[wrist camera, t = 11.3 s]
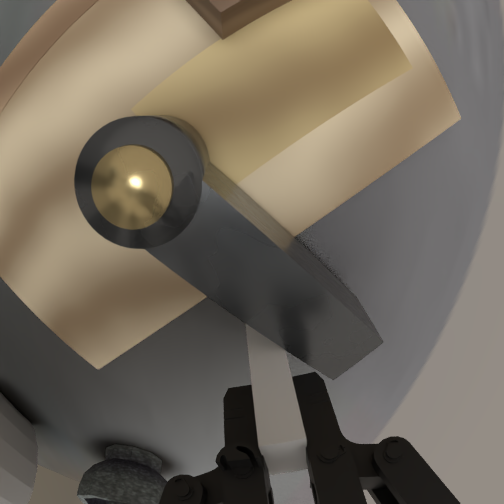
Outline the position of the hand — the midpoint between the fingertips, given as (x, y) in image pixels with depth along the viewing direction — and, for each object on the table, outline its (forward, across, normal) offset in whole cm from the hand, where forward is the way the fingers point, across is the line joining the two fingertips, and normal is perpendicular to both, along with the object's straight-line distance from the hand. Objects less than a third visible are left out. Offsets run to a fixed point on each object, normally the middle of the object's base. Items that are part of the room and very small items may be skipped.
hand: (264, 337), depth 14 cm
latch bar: (+1, 0, +5) cm, 5 cm away
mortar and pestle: (+3, -16, -17) cm, 23 cm away
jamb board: (+3, -3, +10) cm, 11 cm away
